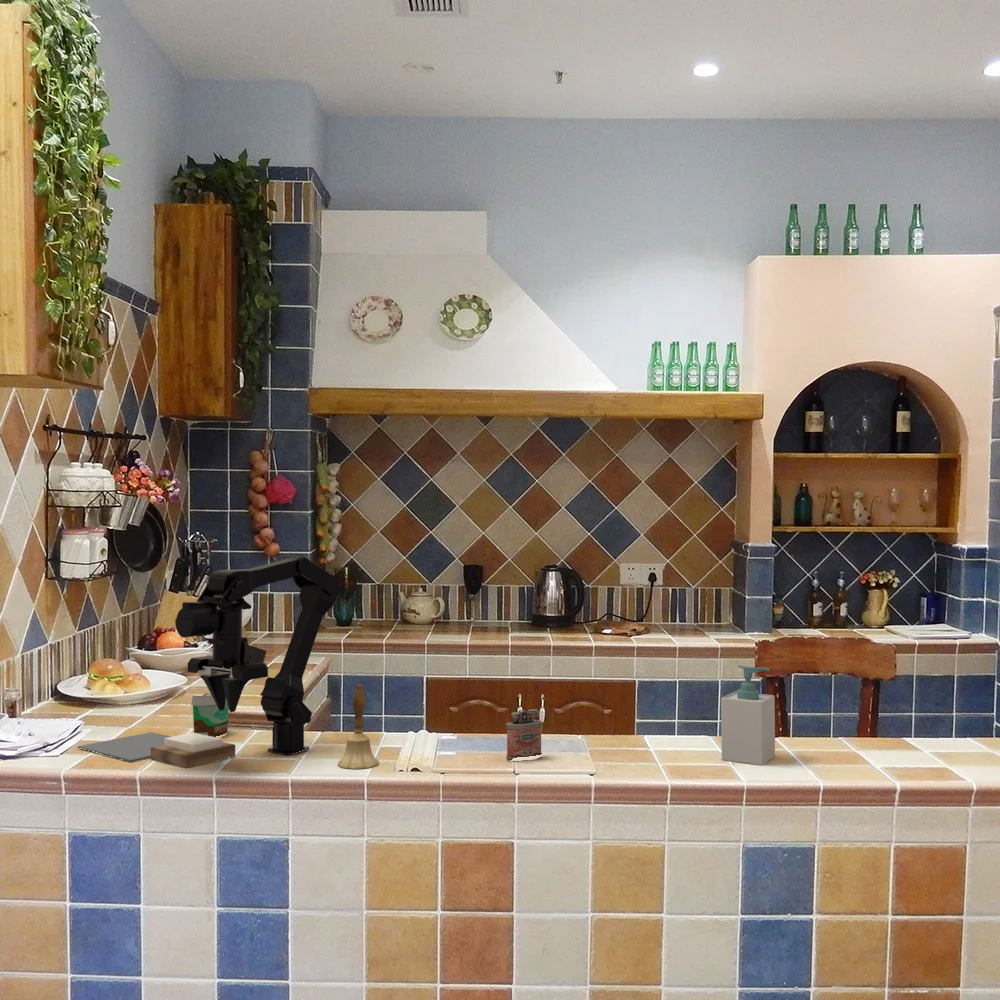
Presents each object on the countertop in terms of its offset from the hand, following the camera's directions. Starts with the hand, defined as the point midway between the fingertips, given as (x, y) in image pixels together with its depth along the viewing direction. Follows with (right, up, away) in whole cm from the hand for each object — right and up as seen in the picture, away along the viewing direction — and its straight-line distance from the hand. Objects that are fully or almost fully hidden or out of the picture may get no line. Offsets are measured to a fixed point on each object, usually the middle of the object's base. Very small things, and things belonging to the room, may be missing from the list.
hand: (227, 710), depth 199 cm
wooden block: (-9, -11, +6) cm, 16 cm away
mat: (-23, -11, +16) cm, 30 cm away
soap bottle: (+106, -11, +6) cm, 107 cm away
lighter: (+60, -11, +6) cm, 61 cm away
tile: (-9, -9, +6) cm, 14 cm away
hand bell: (+26, -11, +1) cm, 29 cm away
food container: (-10, -12, +27) cm, 31 cm away
